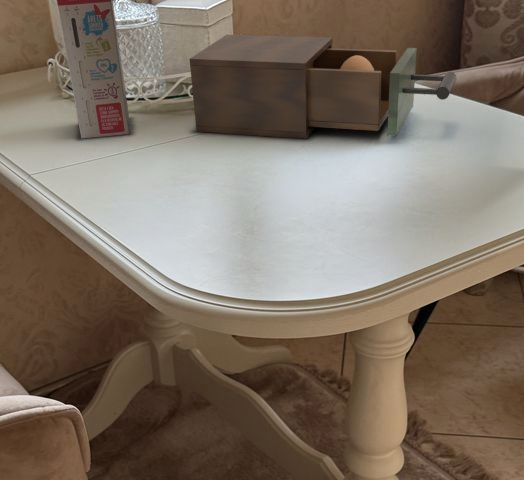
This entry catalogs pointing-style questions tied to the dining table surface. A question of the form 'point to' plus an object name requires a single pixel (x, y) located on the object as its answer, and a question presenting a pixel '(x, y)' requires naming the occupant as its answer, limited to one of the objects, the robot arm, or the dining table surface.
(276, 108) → the cabinet
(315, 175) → the dining table surface
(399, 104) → the drawer
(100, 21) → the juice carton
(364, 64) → the egg
